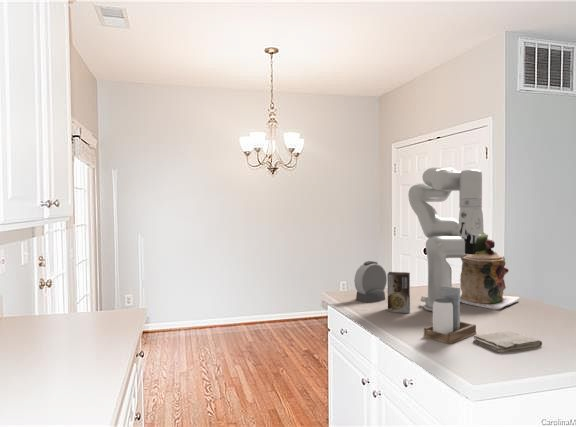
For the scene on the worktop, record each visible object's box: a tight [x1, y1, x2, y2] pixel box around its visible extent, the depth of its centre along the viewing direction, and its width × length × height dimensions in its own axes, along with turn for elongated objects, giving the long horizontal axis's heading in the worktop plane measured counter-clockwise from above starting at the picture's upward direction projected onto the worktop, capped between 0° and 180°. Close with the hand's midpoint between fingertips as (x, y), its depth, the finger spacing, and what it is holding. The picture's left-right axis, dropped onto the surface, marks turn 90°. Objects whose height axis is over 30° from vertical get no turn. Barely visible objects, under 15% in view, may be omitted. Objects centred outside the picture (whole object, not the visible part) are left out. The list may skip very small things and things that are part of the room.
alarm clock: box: [354, 260, 388, 304], centre depth 196 cm, size 16×10×18 cm, turn 120°
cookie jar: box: [459, 231, 520, 311], centre depth 192 cm, size 25×25×32 cm
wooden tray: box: [423, 320, 477, 345], centre depth 143 cm, size 10×17×3 cm, turn 129°
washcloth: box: [472, 330, 543, 353], centre depth 134 cm, size 12×18×3 cm, turn 111°
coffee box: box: [386, 271, 411, 314], centre depth 176 cm, size 9×6×16 cm
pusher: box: [440, 285, 461, 332], centre depth 143 cm, size 7×1×16 cm, turn 39°
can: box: [432, 299, 453, 335], centre depth 141 cm, size 6×6×12 cm
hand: (470, 254), depth 151 cm, fingers closed
